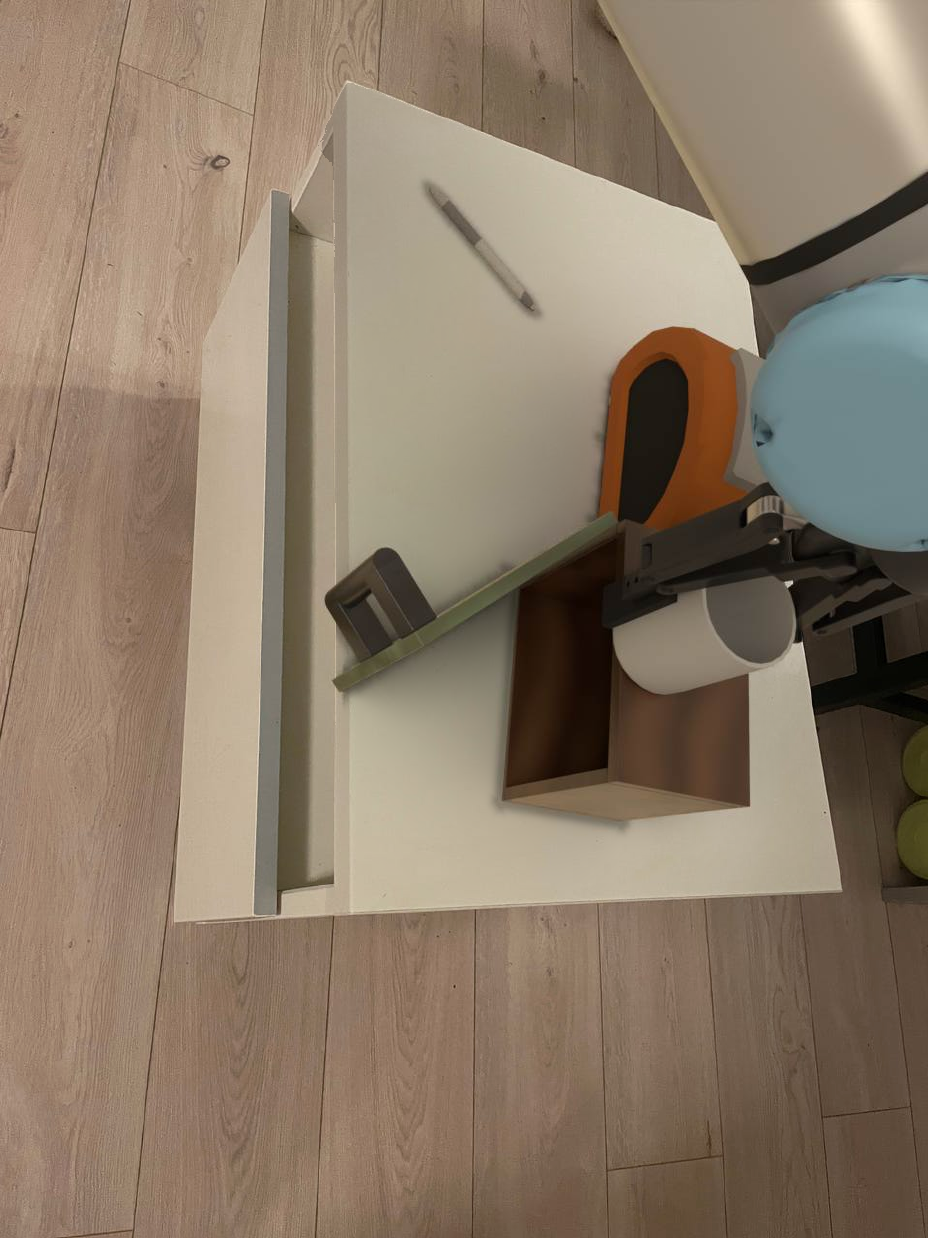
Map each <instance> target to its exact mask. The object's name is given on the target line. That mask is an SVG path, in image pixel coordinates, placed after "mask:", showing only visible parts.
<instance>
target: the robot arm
mask: <svg viewBox="0 0 928 1238" xmlns="http://www.w3.org/2000/svg"><path fill="white" fill-rule="evenodd" d="M596 1H597V3H598V5H599V7H600V8H601V10H602V12H603V14H604V16H605V18H606V20H607V22H608V23H609V25H610V27H611V29H612V31H613V33H614V35H615V37H616V39H617V40H618V42H619V45H620V46H621V48H622V50H623V52H624V53H625V55H626V57H627V59H628V61H629V63H630V64H631V67H632V69H633V70H634V72H635V74H636V76H637V78H638V79H639V81H640V84H641V85H642V87H643V89H644V91H645V93H646V95H647V96H648V99H650V102H651V104H652V106H653V107H654V109H655V111H656V114H657V115H658V117H659V119H660V120H661V122H662V124H663V126H664V128H665V130H666V131H667V133H668V136H669V137H670V139H671V141H672V143H673V145H674V147H675V149H676V150H677V152H678V154H679V156H680V158H681V160H682V161H683V163H684V165H685V167H686V169H687V171H688V172H689V174H690V176H691V178H692V180H693V182H694V184H695V186H696V188H697V189H698V191H699V193H700V195H701V197H702V198H703V200H704V202H705V204H706V206H707V208H708V210H709V212H710V214H711V216H712V217H713V219H714V221H715V223H716V225H717V226H718V227H717V228H719V230H720V232H721V234H722V236H723V238H724V239H725V242H726V243H727V245H728V247H729V249H730V251H731V253H732V255H733V257H734V259H735V260H736V262H737V264H738V265H739V268H740V269H741V271H742V273H743V275H744V277H745V279H746V280H747V283H748V284H749V286H750V288H751V291H752V293H753V296H754V298H755V301H756V302H757V304H758V307H759V308H760V309H761V312H762V313H763V315H764V317H765V319H766V321H767V323H768V325H769V327H770V329H771V331H772V332H773V334H774V337H773V338H772V340H771V342H770V343H769V345H768V348H767V349H766V350H767V351H766V353H765V359H764V360H765V361H764V363H763V364H762V366H761V368H760V370H759V372H758V375H757V377H756V380H755V382H754V385H753V389H752V392H751V409H750V421H751V431H752V435H753V438H752V442H751V444H752V447H753V450H754V453H755V457H756V459H757V461H758V463H759V466H760V468H761V470H762V472H763V474H764V475H765V477H766V478H767V480H768V482H765V483H762V484H760V485H758V486H757V487H756V488H754V489H753V490H752V491H751V492H749V493H748V494H747V495H745V496H744V497H743V498H742V499H740V500H737V501H735V502H732V503H730V504H727V505H725V506H722V507H720V508H717V509H715V510H712V511H710V512H707V513H705V514H702V515H700V516H697V517H695V518H692V519H690V520H687V521H685V522H682V523H680V524H677V525H675V526H672V527H670V528H667V529H665V530H662V531H660V532H657V533H655V534H652V535H650V536H647V537H645V538H642V539H641V540H640V546H639V568H638V569H636V570H635V571H632V572H631V573H628V574H626V575H625V576H624V577H623V578H622V579H620V580H618V581H616V582H614V583H612V584H609V585H607V586H605V587H603V609H602V627H606V628H610V629H612V628H615V627H617V626H620V625H622V624H625V623H627V622H630V621H632V620H634V619H637V618H639V617H642V616H644V615H647V614H649V613H652V612H654V611H657V610H659V609H661V608H664V607H666V606H669V605H671V604H674V603H676V602H677V594H678V593H683V592H688V591H694V590H699V589H704V588H709V587H715V586H720V585H725V584H731V583H736V582H741V581H746V580H752V579H757V578H762V577H768V576H774V577H776V578H777V579H778V580H779V581H782V582H785V583H786V582H787V583H788V582H792V581H794V582H793V583H792V584H790V585H789V586H787V588H788V590H789V592H790V594H791V598H792V601H793V605H794V608H795V616H796V631H795V639H794V641H793V644H792V645H795V644H801V643H803V640H804V639H803V631H804V630H805V629H807V628H811V634H812V635H813V636H817V637H827V636H831V635H833V634H836V633H839V632H841V631H844V630H846V629H848V628H852V627H854V626H857V625H860V624H862V623H864V622H868V621H870V620H873V619H875V618H877V617H881V616H883V615H885V614H888V613H891V612H894V611H896V610H899V609H901V608H904V607H906V606H910V605H912V604H915V603H917V602H922V601H927V600H928V0H596ZM790 541H791V543H790ZM790 544H791V545H790ZM791 557H792V560H793V561H791ZM833 610H834V613H833Z"/></svg>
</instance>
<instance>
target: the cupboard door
mask: <svg viewBox="0 0 928 1238" xmlns="http://www.w3.org/2000/svg"><path fill="white" fill-rule="evenodd" d="M618 523H619V522H618V520H617V518H616V517H615V515H614V513H613V512H612V511H610V512H608V513H606V514H605V515H603V516H601V517H600V518H599V517H598V518H596V519H595V520H593V521H591V522H590V523H588V524H586V525H584V526H583V527H581V528H579V529H578V530H576V531H574V532H573V533H571V534H569V535H567V536H566V537H563V538H562V539H561V540H559V541H557V542H556V543H554V544H552V545H551V546H549V547H547V548H546V549H544V550H543V551H541V552H538V553H537V554H536V555H533V556H532V557H530V558H529V559H527V560H525V561H524V562H522V563H520V564H518V565H517V566H515V567H513V568H512V569H510V570H509V571H506V572H505V573H503V574H502V575H500V576H499V577H497V578H495V579H494V580H492V581H490V582H489V583H488V584H486V585H484V586H482V587H480V588H479V589H478V590H475V592H472V593H471V594H470V595H467V596H466V597H465V598H463V599H461V600H459V601H458V602H456V603H454V604H453V605H452V606H450V607H448V608H447V609H445V610H443V611H442V612H440V613H439V614H436V613H435V612H434V610H433V608H432V607H431V605H430V603H429V601H428V600H427V598H426V596H425V595H424V593H423V592H422V590H421V589H420V587H419V585H418V583H417V582H416V580H415V579H414V577H413V576H412V574H411V572H410V571H409V569H408V567H407V565H406V564H405V562H404V561H403V559H402V557H401V556H400V553H398V552H397V551H396V550H395V549H393V548H390V547H387V546H386V547H385V546H384V547H380V548H378V549H377V550H375V551H373V553H372V554H371V555H369V556H368V557H367V558H365V560H363V561H362V562H361V563H360V564H359V565H358V566H356V567H355V568H354V569H353V570H352V571H350V572H349V573H348V574H346V576H344V577H342V579H341V580H339V581H338V582H337V583H336V584H335V585H333V586H332V587H331V588H330V589H329V590H328V591H326V594H325V596H324V605H325V608H326V609H327V611H328V612H329V614H330V616H331V617H332V619H333V620H334V622H335V624H336V626H337V627H338V629H339V630H340V632H341V633H342V636H343V637H344V638H345V640H346V641H347V643H348V645H349V647H350V648H351V651H353V653H354V655H355V657H356V658H357V659H358V662H359V663H357V664H356V665H354V666H353V667H351V668H349V669H348V670H346V671H344V672H343V673H341V674H340V675H337V676H336V677H335V678H333V679H331V682H332V683H333V685H334V687H335V688H336V690H337V692H339V693H341V692H342V691H344V690H346V689H348V688H350V687H351V686H354V685H356V684H357V683H359V682H361V681H363V680H364V679H366V678H368V677H370V676H372V675H374V674H376V673H378V672H379V671H381V670H383V669H385V668H387V667H388V666H391V665H392V664H394V663H396V662H398V661H400V660H401V659H404V658H405V657H407V656H409V655H411V654H413V653H415V652H416V651H418V650H420V649H422V648H425V646H427V645H428V644H430V643H432V642H434V641H436V640H437V639H438V638H440V637H441V636H443V635H444V634H446V633H448V632H449V631H452V629H454V628H456V627H457V626H459V625H460V624H462V623H464V622H465V621H467V620H468V619H470V618H472V617H473V616H475V615H476V614H478V613H479V612H481V611H482V610H484V609H486V608H487V607H489V606H490V605H492V604H493V603H495V602H497V601H498V600H500V599H501V598H503V597H504V596H506V595H508V594H509V593H511V592H512V591H514V590H516V589H518V587H519V586H520V585H522V584H523V583H525V582H527V581H528V580H530V579H531V578H533V577H534V576H536V575H538V574H539V573H541V572H542V571H544V570H546V569H547V568H549V567H550V566H552V565H553V564H555V563H557V562H558V561H560V560H561V559H563V558H565V557H566V556H568V555H569V554H571V553H572V552H574V551H576V550H577V549H579V548H580V547H582V546H583V545H585V544H587V543H588V542H590V541H591V540H593V539H595V538H596V537H598V536H599V535H601V534H602V533H604V532H606V531H607V530H609V529H610V528H612V527H613V526H615V525H617V524H618ZM372 595H373V596H374V598H375V600H376V602H377V603H378V604H379V606H380V608H381V609H382V612H383V613H384V614H385V616H386V617H387V619H388V621H389V623H390V624H391V625H392V627H393V629H394V631H395V632H396V634H397V636H398V639H396V640H394V641H392V639H391V637H390V635H389V633H388V632H387V630H386V629H385V627H384V626H383V625H382V623H381V621H380V619H379V618H378V616H377V615H376V613H375V611H374V609H373V608H372V605H371V604H370V603H369V602H368V600H367V599H368V598H369V597H370V596H372Z"/></svg>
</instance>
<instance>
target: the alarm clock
mask: <svg viewBox="0 0 928 1238" xmlns="http://www.w3.org/2000/svg"><path fill="white" fill-rule="evenodd" d="M765 360H766V359H764V358H762V357H760V356H758V355H757V354H754V353H753V352H751V351H749V350H747V349H744V347H743V348H742V347H739V348H738V349H736V348H734V347H732V346H729V345H727V344H726V343H724V342H722V341H720V340H719V339H716V338H714V337H712V336H711V335H708V334H706V333H704V332H702V331H700V330H698V329H696V328H693V327H685V326H684V327H683V326H674V325H672V326H669V327H664V328H660V329H656V330H652V331H651V332H650V333H648V334H647V335H646V336H644V337H643V338H642V339H640V340H639V341H638V342H636V343H635V344H634V345H633V346H632V347H631V348H630V349H629V350H628V351H627V352H626V353H625V354H624V356H623V357H622V358H621V359H620V360H619V362H618V364H617V366H616V368H615V370H614V373H613V375H612V378H611V390H610V391H611V392H610V395H609V397H608V406H609V410H608V420H607V430H606V431H607V432H606V441H605V449H604V460H603V469H602V470H603V471H602V481H601V492H600V499H599V500H600V503H599V512H598V518H600V517H601V516H603V515H605V514H606V513H608V512H610V511H612V512H613V513H614V515H615V517H616V518H617V520H618V522H619V523H620V522H622V521H624V520H625V519H627V520H630V521H633V522H636V523H639V524H642V525H645V526H648V527H651V528H654V529H657V530H660V531H662V530H665V529H667V528H670V527H672V526H675V525H677V524H680V523H682V522H685V521H687V520H690V519H692V518H695V517H697V516H700V515H702V514H705V513H707V512H710V511H712V510H715V509H717V508H720V507H722V506H725V505H727V504H730V503H732V502H735V501H737V500H740V499H742V498H743V497H744V496H745V495H747V494H748V493H749V492H751V491H752V490H753V489H754V488H756V487H757V486H758V485H760V484H762V483H765V482H768V480H767V478H766V477H765V475H764V474H763V472H762V470H761V468H760V466H759V463H758V461H757V459H756V457H755V453H754V450H753V447H752V444H751V442H752V438H753V435H752V431H751V421H750V409H751V392H752V389H753V385H754V382H755V380H756V377H757V375H758V372H759V370H760V368H761V366H762V364H763V363H764V361H765Z"/></svg>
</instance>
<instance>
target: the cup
mask: <svg viewBox="0 0 928 1238" xmlns="http://www.w3.org/2000/svg"><path fill="white" fill-rule="evenodd" d="M795 631H796V616H795V608H794V605H793V601H792V598H791V594H790V592H789V590H788V586H787V584H786V582H782V581H779V580H778V579H777V578H776V577H774V576H768V577H762V578H757V579H752V580H746V581H741V582H736V583H731V584H725V585H720V586H715V587H709V588H704V589H699V590H694V591H688V592H683V593H678V594H677V602H676V603H674V604H671V605H669V606H666V607H664V608H661V609H659V610H657V611H654V612H652V613H649V614H647V615H644V616H642V617H639V618H637V619H634V620H632V621H630V622H627V623H625V624H622V625H620V626H617V627H615V628H613V644H614V648H615V652H616V656H617V658H618V660H619V662H620V664H621V666H622V668H623V669H624V671H625V672H626V673H627V675H628V676H629V677H630V678H631V679H632V680H633V681H634V682H636V683H637V684H638V685H639V686H641V687H642V688H644V689H646V690H648V691H650V692H652V693H656V694H663V695H667V694H673V693H678V692H684V691H687V690H691V689H694V688H698V687H701V686H705V685H709V684H712V683H716V682H719V681H723V680H726V679H730V678H733V677H737V676H740V675H744V674H747V673H749V674H750V673H755V672H758V671H763V670H765V669H768V668H773V667H774V666H777V664H779V663H780V662H783V660H784V659H785V658H786V656H787V655H788V654H789V653H790V651H791V650H792V647H793V645H794V644H793V641H794V639H795Z"/></svg>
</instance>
